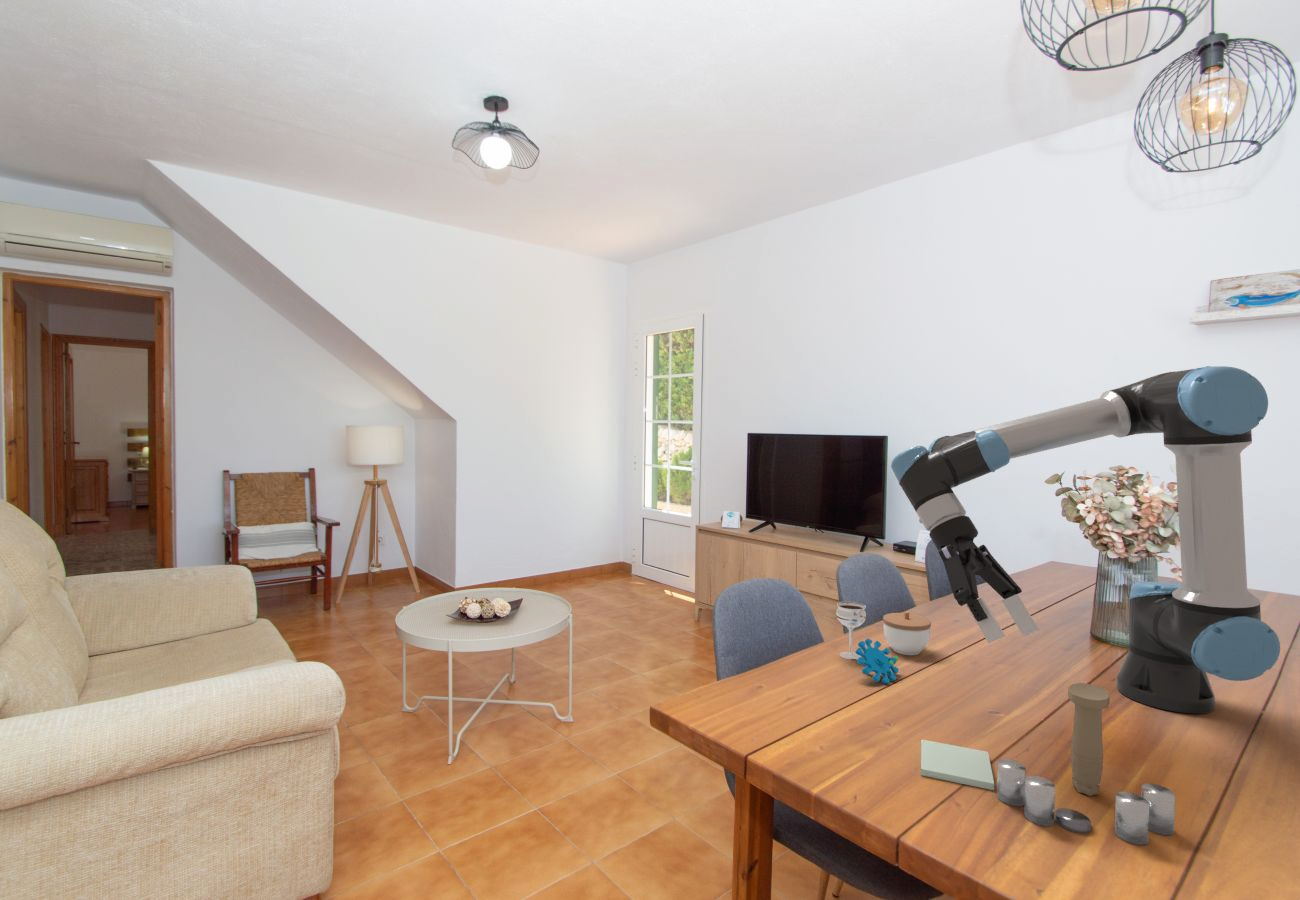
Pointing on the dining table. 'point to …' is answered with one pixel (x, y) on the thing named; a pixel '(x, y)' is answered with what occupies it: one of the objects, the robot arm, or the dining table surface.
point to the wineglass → (850, 621)
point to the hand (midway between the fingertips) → (1014, 636)
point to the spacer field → (1130, 809)
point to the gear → (877, 661)
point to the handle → (1087, 736)
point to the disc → (1073, 820)
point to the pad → (956, 764)
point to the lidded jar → (906, 632)
